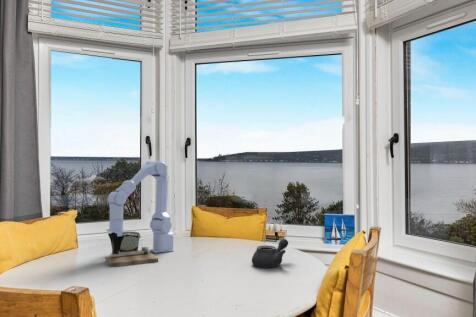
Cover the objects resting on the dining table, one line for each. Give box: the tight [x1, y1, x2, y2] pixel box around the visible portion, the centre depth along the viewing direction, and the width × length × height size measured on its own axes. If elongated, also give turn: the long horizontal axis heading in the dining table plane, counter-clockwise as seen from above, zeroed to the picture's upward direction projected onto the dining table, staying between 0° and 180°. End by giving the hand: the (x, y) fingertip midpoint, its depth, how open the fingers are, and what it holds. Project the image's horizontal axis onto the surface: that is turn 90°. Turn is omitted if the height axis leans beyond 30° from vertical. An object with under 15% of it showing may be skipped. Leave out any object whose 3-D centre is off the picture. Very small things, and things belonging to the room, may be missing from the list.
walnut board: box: [105, 252, 159, 268], centre depth 168 cm, size 20×12×2 cm, turn 118°
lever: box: [110, 241, 150, 257], centre depth 172 cm, size 16×3×7 cm, turn 120°
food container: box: [120, 231, 141, 252], centre depth 182 cm, size 12×6×10 cm, turn 84°
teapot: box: [251, 238, 289, 269], centre depth 165 cm, size 19×15×10 cm
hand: (115, 250), depth 169 cm, fingers open, 3 cm apart
